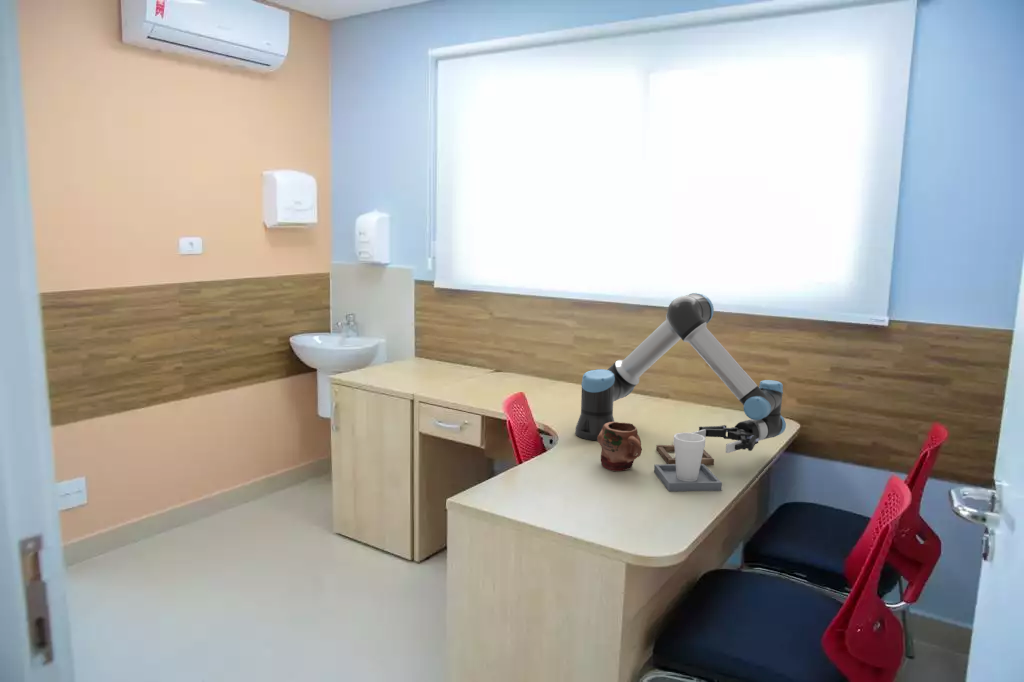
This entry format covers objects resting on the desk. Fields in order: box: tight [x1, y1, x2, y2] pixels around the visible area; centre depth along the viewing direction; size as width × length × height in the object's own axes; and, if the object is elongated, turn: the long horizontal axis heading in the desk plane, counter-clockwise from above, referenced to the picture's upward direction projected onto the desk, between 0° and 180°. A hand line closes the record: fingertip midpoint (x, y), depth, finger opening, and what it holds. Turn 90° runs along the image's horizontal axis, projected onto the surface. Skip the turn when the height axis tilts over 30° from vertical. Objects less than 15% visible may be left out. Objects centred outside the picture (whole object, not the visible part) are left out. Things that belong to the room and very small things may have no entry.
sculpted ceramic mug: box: [596, 421, 643, 472], centre depth 231 cm, size 20×12×14 cm, turn 34°
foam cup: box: [672, 432, 706, 481], centre depth 221 cm, size 10×9×13 cm
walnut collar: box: [655, 444, 715, 466], centre depth 243 cm, size 15×15×2 cm
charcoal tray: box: [653, 463, 723, 492], centre depth 222 cm, size 16×16×2 cm
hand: (708, 442), depth 226 cm, fingers open, 13 cm apart
